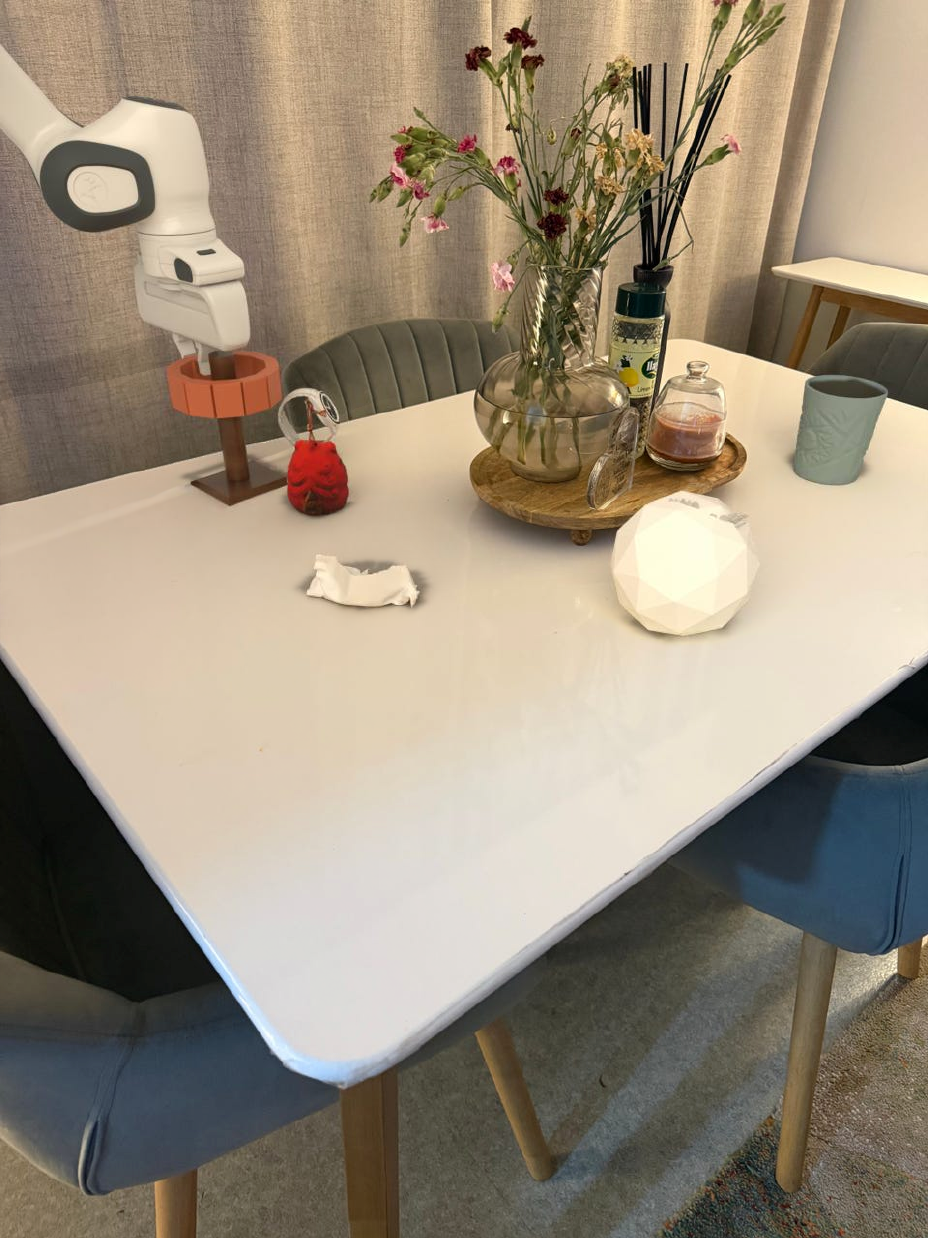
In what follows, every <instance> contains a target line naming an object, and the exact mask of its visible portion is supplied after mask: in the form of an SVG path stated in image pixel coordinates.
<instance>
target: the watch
mask: <svg viewBox="0 0 928 1238" xmlns="http://www.w3.org/2000/svg"><path fill="white" fill-rule="evenodd" d="M297 397H306V398H307V399H309V403H310V404H311V405H312V408H313V409H314V410H319V411H321V410H326V411H327V412H326V414H327V417H323V416H321V415H319V414H316V416H317V418H318V419H319V421H320V422H321V423H322V425H324V426H325V427H326V428H328V429H329V431H330V433H331V436H329V437H328V438H327V439H326V440H319V439H318V440H316V439H315V440H316V441H319V442H327V441H331V442H332V443H333V442H334V440H335V438H336V435H337V433H338V429H339V426H340V425H341V417H340V414H339V411H338V409H337V407H336V405H335V404H334V402H333V400H332V399H331V397H330V396H329V395H328V394H327V393H326V392H324V391H323V390H317V389H316V388H311V387H301V388H296V389H294V390H293V391H290V392H289V393H288V394H287V395H286V396H285V397H284V398H283V399H282V402H281V404H280V406H279V408H278V412H277V423H278V426H279V428H280V430H281V432H282V434H283V435H284V437H285V439H286V440H287V441H288V442H289V444H291V445H292V447H294V446H295V443H296V442H297V441H299V440H301V438H299V434H298V432H296V431H295V429H294V428H293V427H292V425H291V423H290V421H289V419H288V417H287V415H286V412H285V410H284V407H285V404H286V403H287V402H289V401H290V400H291V399H293V398H297ZM303 440H304V441H309V439H308V440H307V439H303ZM294 451H295V449H294V450H293V452H292V455H293V453H294ZM292 455H291V456H292Z"/></svg>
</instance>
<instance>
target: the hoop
mask: <svg viewBox="0 0 928 1238" xmlns="http://www.w3.org/2000/svg"><path fill="white" fill-rule="evenodd" d="M231 352H233V354H234V361H235V369H236V376H237V379H233V380H220V381H212V379H211V375H207V376H204V375H202V374H199V373H197V372H196V366H195V361H194V360H197V359H198V353H197V354H196V355H192V356H187V357H183V359H182V358H179V359H177V360H176V361H174V362H171V364H169V365H167V367H166V378H167V382H168V388H169V395H170V400H171V405H172V408H173V409H174V410H176V411H178V412H180V413H183V414H184V415H186V416H191V417H199V418H200V417H201V418H208V419H215V418H217V419H218V418H227V417H238V416H242V417H245V416H250V415H253V414H257V413H260V412H263V411H267V410H270V409H272V408H274V407H275V406H276V405H277V404H278V403H279V402H281V401H283V390H282V389H283V388H282V380H281V379H282V378H281V371H280V366H279V363H278V359H277V358H275V357H273V356H270V355H267V354H265V353H262V352H258V351H249V350H239V349H236V350H232V351H231Z"/></svg>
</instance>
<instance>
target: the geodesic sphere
mask: <svg viewBox="0 0 928 1238" xmlns="http://www.w3.org/2000/svg"><path fill="white" fill-rule="evenodd" d="M748 517H749V515H748V514H747V515H746V513H744V514H741V511H739V512H737V513H736V512H735V511H733V509H732V508H730V507H729V506H728V505H727V504H725V502H723V501H722V500H721V499H719V498H718V497H714V496H708V495H704V494H700V493H695V492H689V491H685V490H679V491H677V492H674V493H671V494H670V495H666V496H663V497H661V498H659V499H656V500H653V501H650V502H647V503H645V504H644V505H643V506H641V508H640V509H639V510H638V511H637V512H636V513H634V514H633V516H631V517H630V518H629V519H628V520H627V521H626V522H625V523H624V524H623V525H622V526H621V527H619V529H618V530H617V531H616V534H615V538H614V544H613V548H612V553H611V558H610V562H609V569H610V573H611V577H612V581H613V584H614V587H615V591H616V595H617V599H618V602H619V603H618V604H619V605H621V606H622V608H624V609H625V610H626V611H627V612H628V614H630V615H631V616H633V618H635V619H636V620H637V621H638V622H639V623H640V624H641V626H643V627H644V628H645V629H646V630H648V631H650V632H651V631H652V632H657V633H663V634H669V635H675V636H680V637H687V636H692V635H697V634H701V633H705V632H709V631H713V630H719V629H723V627H724V626H725V625H727V623H728V622H729V621H730V620H731V619H732V618H733V617H734V616H735V615H736V614H737V613H738V612H739V610H740V609H742V607H743V606H744V605H745V604H746V603H747V601H749V600H750V598H751V594H752V591H753V588H754V586H755V582H756V580H757V576H758V573H759V570H760V567H761V560H760V557H759V553H758V550H757V547H756V543H755V540H754V536H753V533H752V530H751V525H750V524H749V523H748V522H747V521H745V519H747V518H748Z"/></svg>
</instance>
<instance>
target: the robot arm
mask: <svg viewBox="0 0 928 1238" xmlns="http://www.w3.org/2000/svg"><path fill="white" fill-rule="evenodd" d="M0 130H1V131H2V132H3V133H4V134H5V136H7V137H8V138H9V139H10V140H11V142H13V144H14V145H15V146H16V147H17V149H18V150H19V151H20V152H21V154H22V156H23V157H24V159H25V160H26V162H27V164H28V167H29V168H30V171H31V174H32V176H33V179H34V181H35V183H36V186H37V187H38V190H39V191H40V192H41V193H40V194H41V195H42V197H43V199H44V201H45V203H46V205H47V207H48V208H49V210H50V211H51V212H52V213H53V215H54V216H55V217H56V218H57V219H58V220H59V221H61V222H62V223H63V224H65V225H67V226H68V227H70V228H72V229H74V230H77V231H80V232H83V233H89V234H101V233H106V232H109V231H112V230H115V229H120V228H124V227H127V226H131V225H134V224H135V227H136V232H137V238H138V245H139V249H140V250H139V251H138V253H137V254H136V261H137V263H136V264H135V266H134V270H133V278H134V290H135V296H136V297H135V298H136V304H137V309H138V313H139V316H140V318H141V320H142V321H143V322H144V323H146V324H148V325H151V326H154V327H157V328H159V329H163V330H165V331H167V332H170V333H172V341H173V342H174V344H175V346H176V348H177V350H178V352H179V354H180V355H181V359H183V357H187V356H192V355H196V354H198V359H197V360H194V361H195V366H196V372H197V373H199V374H202V375H204V376H207V375H211V372H210V365H209V359H208V354H209V353H211V352H214V351H217V350H218V351H225V352H227V351H232V350H233V351H235V350H240V349H243V348H246V347H247V346H248V344H249V342H250V339H251V325H250V314H249V305H248V300H247V294H246V291H245V288H244V285H243V284H242V282H241V281H240V280H239V279H243V278H244V277H245V265H244V264H245V263H244V261H243V259H242V258H241V257H239V256H238V255H237V254H236V253H234V251H232V250H231V249H230V248H229V247H228V246H227V245H226V244H225V243H224V242H223V241H222V239H220V238H218V235H217V229H216V223H215V220H214V218H213V215H212V213H211V209H210V203H209V197H210V196H209V195H210V188H211V187H210V179H209V172H208V167H207V160H206V155H205V154H206V153H205V150H204V145H203V141H202V137H201V133H200V129H199V126H198V123H197V121H196V120H195V117H194V116H193V115H192V114H191V113H190V111H188V109H186V108H185V107H183V106H181V105H180V104H178V103H175V102H173V101H172V102H170V101H166V100H164V99H158V98H153V97H147V96H139V95H127V96H124V97H122V98H121V99H120V101H118V103H117V104H116V105H115V106H114V107H113V108H111V109H110V110H109V111H108V112H106V113H105V114H103V115H101V117H100V118H98V119H96V120H94V121H93V122H91V123H89V124H87V125H83V124H80V123H79V122H77V121H75V120H74V119H71V117H68V116H67V115H66V114H64V113H63V112H62V111H61V110H60V109H59V108H58V107H57V106H56V105H55V104H54V103H53V102H52V100H50V99H49V97H48V96H46V94H45V93H44V92H43V91H42V90H41V88H40V87H39V86H38V85H37V84H36V83H35V81H33V79H31V77H30V76H29V75H28V74H27V73H26V71H24V70H23V68H22V67H21V66H20V65H19V63H18V62H16V61H15V59H14V58H13V56H11V54H10V53H9V52H8V51H7V50H6V49H5V47H3V46H2V44H1V43H0ZM193 341H194V342H193ZM196 349H197V351H198V352H197V351H196Z"/></svg>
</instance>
